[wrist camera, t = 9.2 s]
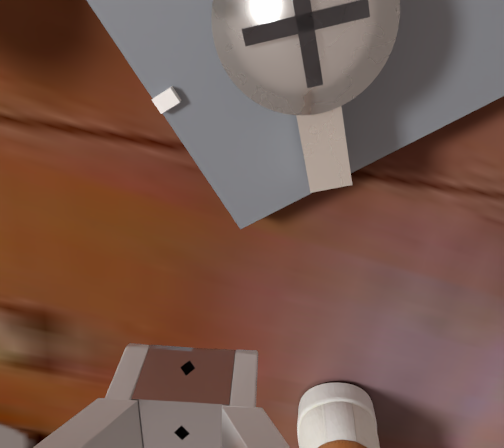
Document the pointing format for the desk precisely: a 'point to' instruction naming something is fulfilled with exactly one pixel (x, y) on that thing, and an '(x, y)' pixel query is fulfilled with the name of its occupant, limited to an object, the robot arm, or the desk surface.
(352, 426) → the Shoe
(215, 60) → the panel
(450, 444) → the desk surface
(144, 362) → the robot arm
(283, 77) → the dial
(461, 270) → the desk surface
